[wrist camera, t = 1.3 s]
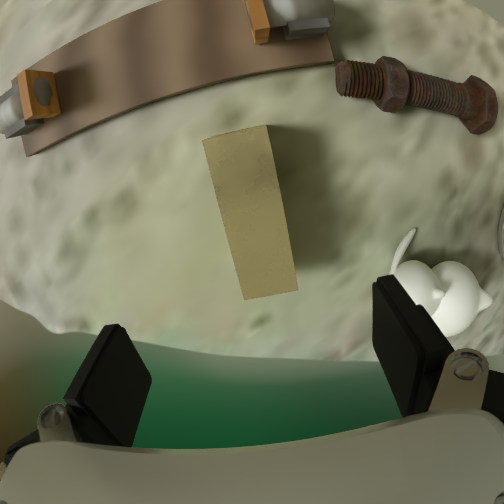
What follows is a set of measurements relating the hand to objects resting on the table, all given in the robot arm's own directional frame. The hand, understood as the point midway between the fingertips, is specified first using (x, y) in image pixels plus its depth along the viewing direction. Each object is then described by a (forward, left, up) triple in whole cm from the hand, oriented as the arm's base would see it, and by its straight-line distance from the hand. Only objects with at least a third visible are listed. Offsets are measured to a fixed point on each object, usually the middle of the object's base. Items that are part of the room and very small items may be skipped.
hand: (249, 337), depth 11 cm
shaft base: (+6, -15, -18) cm, 25 cm away
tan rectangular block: (0, 0, -19) cm, 19 cm away
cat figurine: (-16, +11, -19) cm, 27 cm away
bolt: (-16, -8, -19) cm, 26 cm away
